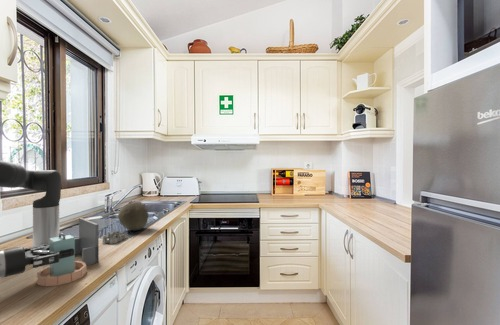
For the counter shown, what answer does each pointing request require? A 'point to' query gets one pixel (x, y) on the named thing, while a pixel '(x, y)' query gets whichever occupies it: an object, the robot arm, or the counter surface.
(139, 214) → the cantaloupe
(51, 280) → the dish
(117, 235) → the miniature stone ruin
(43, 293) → the counter surface
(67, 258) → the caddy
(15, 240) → the counter surface
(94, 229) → the screen
